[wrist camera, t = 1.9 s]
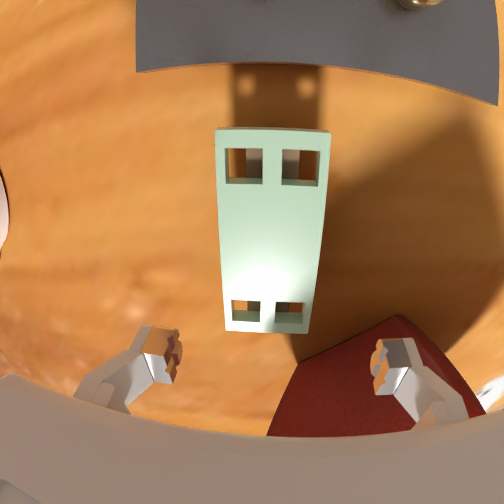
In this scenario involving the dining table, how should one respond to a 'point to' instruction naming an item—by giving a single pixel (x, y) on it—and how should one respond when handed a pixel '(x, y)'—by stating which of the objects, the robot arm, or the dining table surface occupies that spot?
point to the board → (270, 228)
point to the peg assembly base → (330, 38)
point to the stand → (288, 172)
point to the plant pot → (357, 388)
